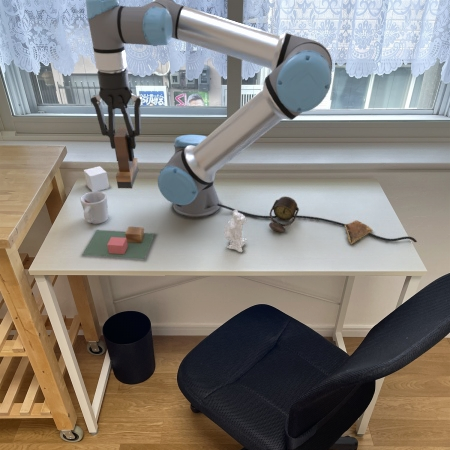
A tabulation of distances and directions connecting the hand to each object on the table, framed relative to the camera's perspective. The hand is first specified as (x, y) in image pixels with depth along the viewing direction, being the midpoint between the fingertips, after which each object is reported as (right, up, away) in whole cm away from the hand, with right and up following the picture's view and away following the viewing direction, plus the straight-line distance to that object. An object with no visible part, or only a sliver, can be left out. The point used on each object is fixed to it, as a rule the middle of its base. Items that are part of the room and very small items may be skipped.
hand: (125, 159), depth 126 cm
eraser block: (-2, -26, +1) cm, 26 cm away
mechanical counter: (+46, -16, +14) cm, 51 cm away
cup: (-12, -16, +13) cm, 24 cm away
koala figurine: (+32, -25, +3) cm, 40 cm away
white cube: (-17, 0, +31) cm, 35 cm away
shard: (+69, -21, +8) cm, 73 cm away
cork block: (+2, -22, +5) cm, 23 cm away
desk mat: (-2, -24, +4) cm, 25 cm away
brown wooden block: (0, -5, +4) cm, 6 cm away
